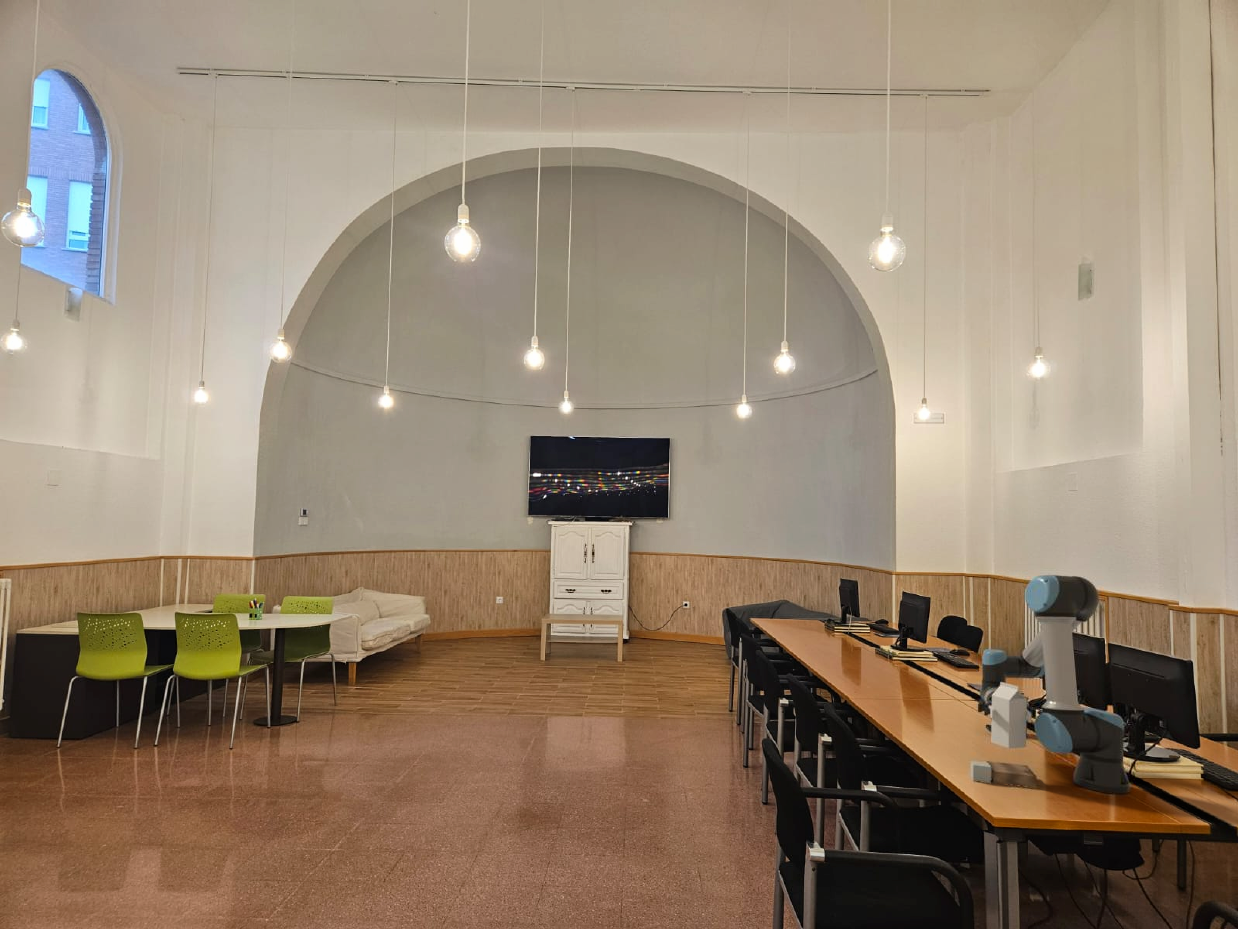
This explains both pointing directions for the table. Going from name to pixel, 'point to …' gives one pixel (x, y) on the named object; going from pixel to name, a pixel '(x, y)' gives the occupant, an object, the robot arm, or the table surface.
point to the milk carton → (1009, 717)
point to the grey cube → (980, 771)
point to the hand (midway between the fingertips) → (1011, 716)
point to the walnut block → (1012, 774)
